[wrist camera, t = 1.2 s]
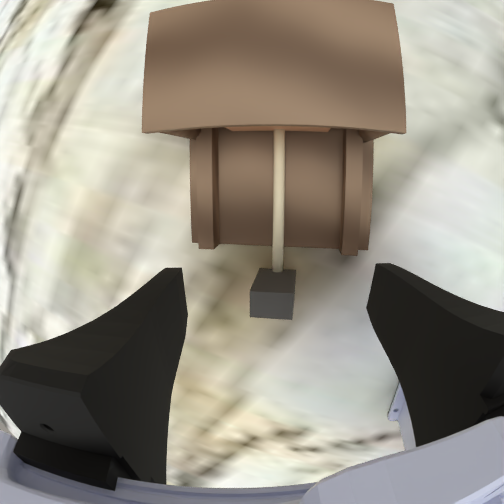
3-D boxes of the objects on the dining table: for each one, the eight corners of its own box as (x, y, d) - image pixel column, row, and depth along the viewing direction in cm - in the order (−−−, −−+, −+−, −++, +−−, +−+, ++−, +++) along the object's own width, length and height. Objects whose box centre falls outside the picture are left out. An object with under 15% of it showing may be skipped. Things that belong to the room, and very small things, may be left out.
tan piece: (320, 292, 21) (325, 328, 16) (234, 288, 21) (215, 321, 17) (325, 59, 16) (331, 28, 12) (233, 60, 17) (212, 32, 13)
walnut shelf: (365, 246, 20) (394, 286, 13) (196, 239, 22) (148, 273, 15) (366, 50, 17) (392, 0, 9) (196, 52, 18) (150, 9, 11)
